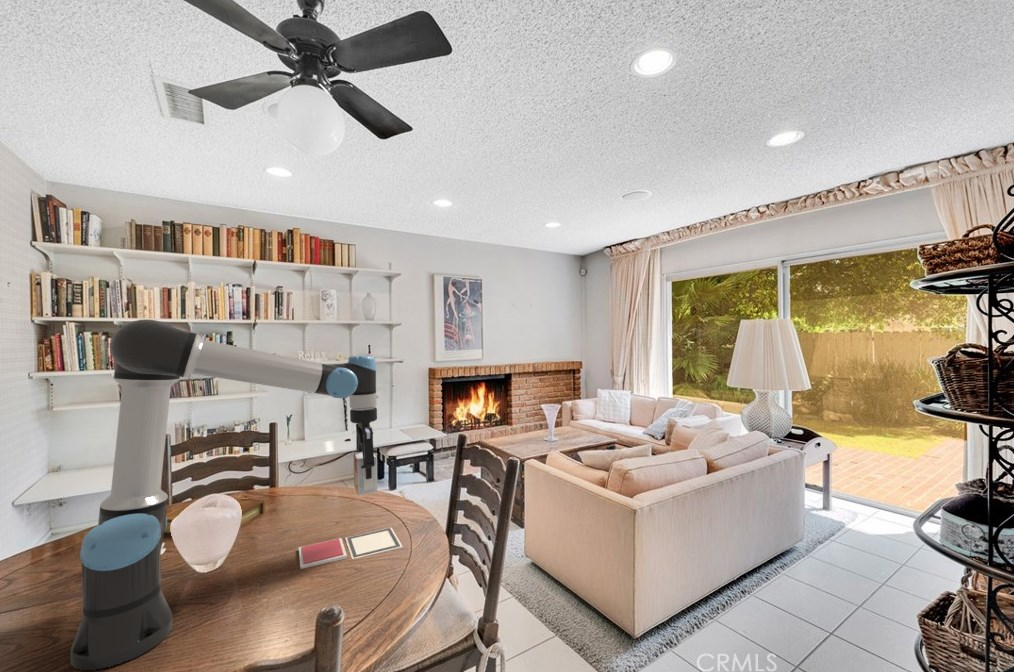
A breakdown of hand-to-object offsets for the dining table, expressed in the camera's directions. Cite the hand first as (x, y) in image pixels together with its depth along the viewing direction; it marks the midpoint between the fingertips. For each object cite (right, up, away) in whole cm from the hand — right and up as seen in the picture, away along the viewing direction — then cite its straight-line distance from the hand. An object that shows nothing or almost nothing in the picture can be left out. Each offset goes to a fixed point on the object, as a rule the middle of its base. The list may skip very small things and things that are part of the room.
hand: (365, 484), depth 127 cm
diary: (-56, -19, +15) cm, 61 cm away
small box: (0, -2, 0) cm, 2 cm away
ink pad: (-10, -18, -6) cm, 22 cm away
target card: (+2, -18, +1) cm, 18 cm away
